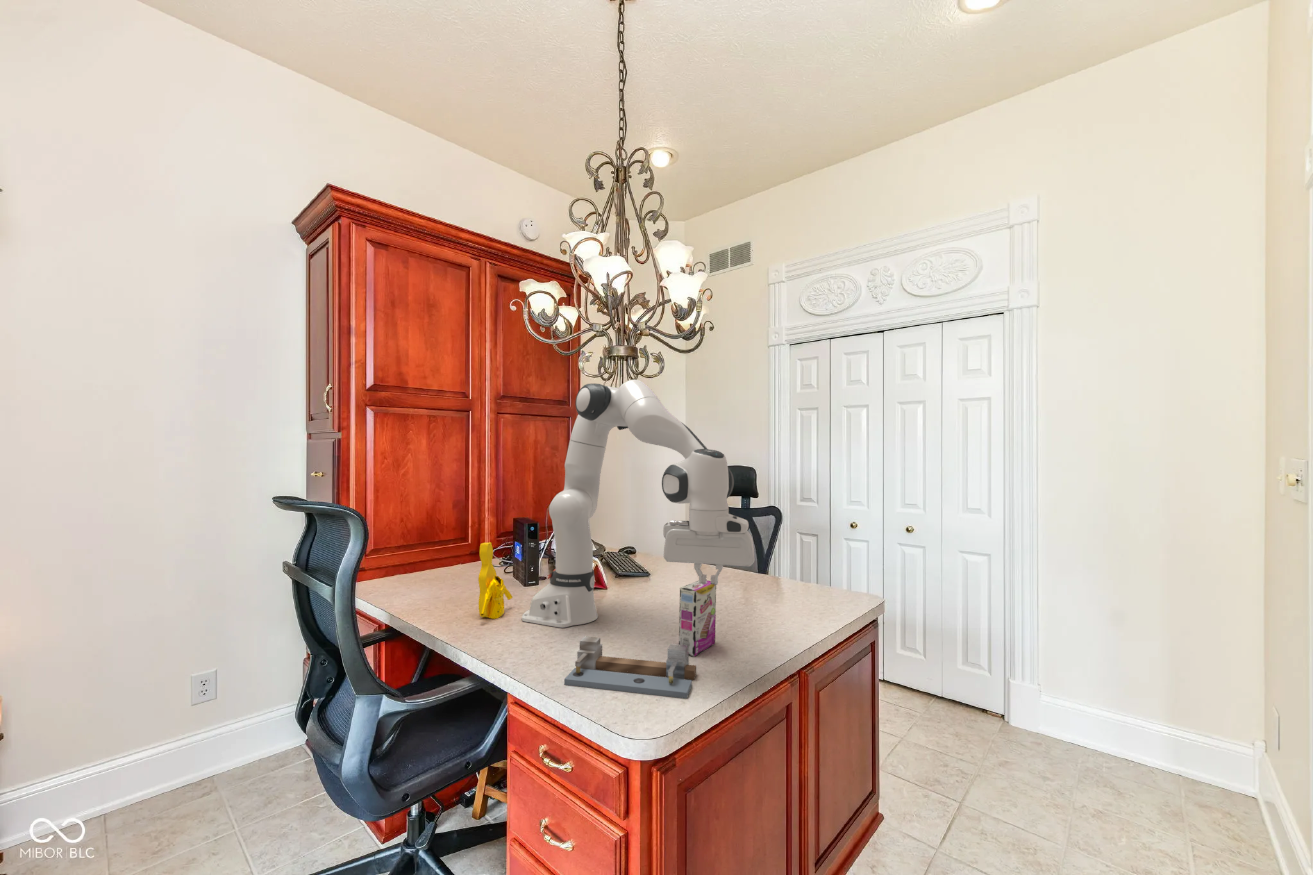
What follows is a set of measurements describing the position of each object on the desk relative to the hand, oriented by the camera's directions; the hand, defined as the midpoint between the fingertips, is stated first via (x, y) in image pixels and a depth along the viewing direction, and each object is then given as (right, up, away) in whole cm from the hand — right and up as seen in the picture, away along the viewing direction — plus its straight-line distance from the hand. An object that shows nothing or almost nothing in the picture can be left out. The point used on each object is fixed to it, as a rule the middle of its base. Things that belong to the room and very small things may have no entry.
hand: (708, 583), depth 120 cm
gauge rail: (-17, -21, +1) cm, 27 cm away
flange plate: (-18, -21, -4) cm, 28 cm away
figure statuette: (-62, -22, +43) cm, 78 cm away
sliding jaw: (-7, -21, -1) cm, 22 cm away
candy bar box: (-1, -22, +17) cm, 28 cm away
